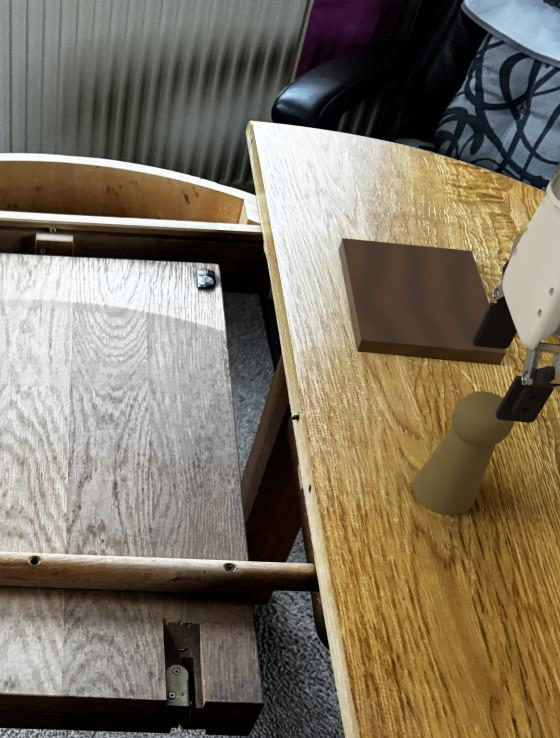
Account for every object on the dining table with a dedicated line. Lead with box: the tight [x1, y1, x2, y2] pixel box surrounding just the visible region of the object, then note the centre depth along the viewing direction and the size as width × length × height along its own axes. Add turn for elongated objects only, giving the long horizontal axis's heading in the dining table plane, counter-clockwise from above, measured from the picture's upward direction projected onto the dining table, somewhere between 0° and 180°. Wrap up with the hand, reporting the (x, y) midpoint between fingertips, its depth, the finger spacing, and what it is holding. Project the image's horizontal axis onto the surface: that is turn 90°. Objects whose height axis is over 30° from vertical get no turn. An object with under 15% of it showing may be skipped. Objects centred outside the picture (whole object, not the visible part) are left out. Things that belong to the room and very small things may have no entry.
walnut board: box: [338, 237, 507, 365], centre depth 108 cm, size 16×20×2 cm
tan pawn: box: [411, 390, 516, 516], centre depth 86 cm, size 6×6×11 cm
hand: (500, 381), depth 79 cm, fingers open, 9 cm apart
